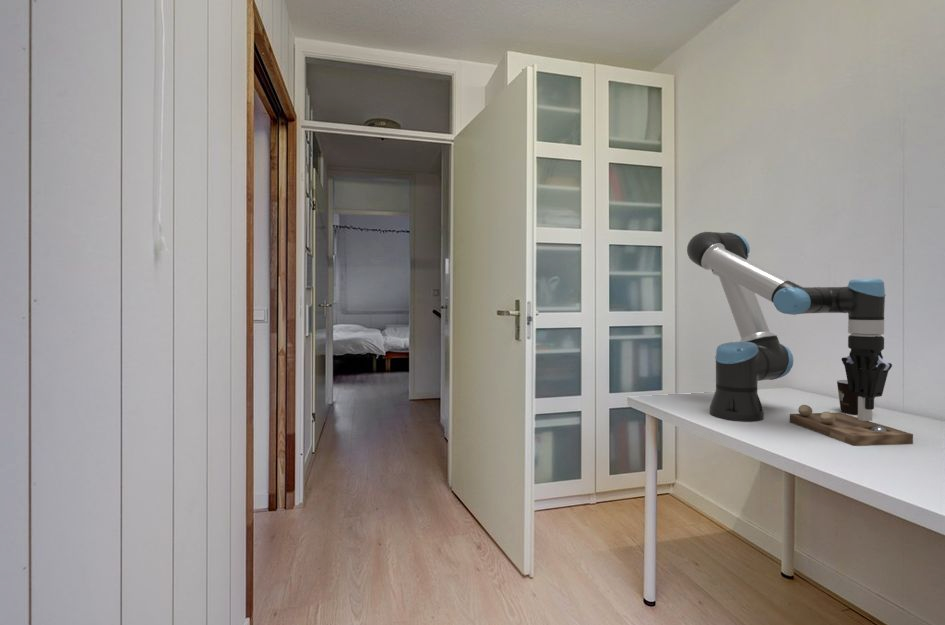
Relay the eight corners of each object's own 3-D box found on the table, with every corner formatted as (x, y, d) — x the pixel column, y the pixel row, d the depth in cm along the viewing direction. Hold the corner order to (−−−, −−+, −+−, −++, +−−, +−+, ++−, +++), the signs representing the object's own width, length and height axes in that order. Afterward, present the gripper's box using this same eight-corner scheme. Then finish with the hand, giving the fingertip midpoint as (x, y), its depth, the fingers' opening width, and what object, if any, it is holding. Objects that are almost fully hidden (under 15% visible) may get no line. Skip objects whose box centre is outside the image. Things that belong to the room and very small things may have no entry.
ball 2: (826, 425, 126) (826, 413, 125) (816, 422, 129) (817, 410, 129) (838, 425, 126) (838, 413, 126) (828, 421, 129) (828, 410, 129)
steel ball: (869, 439, 122) (880, 439, 119) (865, 426, 123) (876, 426, 120) (880, 439, 122) (892, 438, 119) (877, 426, 123) (888, 425, 120)
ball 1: (804, 417, 133) (804, 406, 133) (795, 414, 137) (795, 403, 137) (815, 417, 134) (815, 406, 134) (806, 414, 137) (806, 403, 137)
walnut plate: (853, 445, 116) (854, 436, 116) (789, 422, 138) (789, 413, 138) (912, 443, 117) (913, 434, 117) (839, 420, 139) (839, 412, 139)
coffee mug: (836, 408, 154) (837, 378, 153) (870, 411, 148) (870, 381, 148) (836, 415, 145) (836, 384, 144) (872, 419, 139) (872, 387, 139)
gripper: (902, 336, 118) (901, 426, 119) (857, 333, 131) (856, 413, 132) (875, 337, 118) (874, 427, 118) (832, 333, 131) (832, 414, 131)
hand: (864, 420), depth 125 cm, fingers closed
